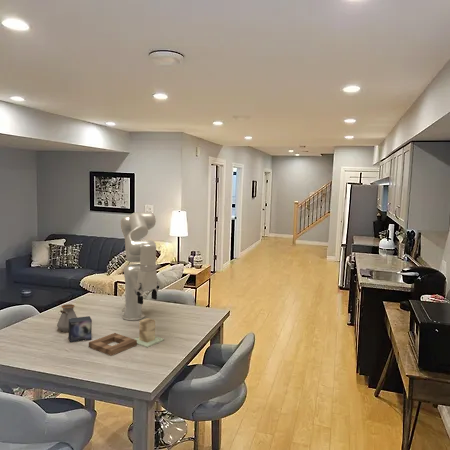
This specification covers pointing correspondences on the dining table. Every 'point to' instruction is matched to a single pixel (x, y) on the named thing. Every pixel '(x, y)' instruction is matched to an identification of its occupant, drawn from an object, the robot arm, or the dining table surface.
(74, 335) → the small box
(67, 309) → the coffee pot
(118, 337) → the cradle board
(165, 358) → the dining table surface
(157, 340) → the pad
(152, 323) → the beech block
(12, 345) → the dining table surface
